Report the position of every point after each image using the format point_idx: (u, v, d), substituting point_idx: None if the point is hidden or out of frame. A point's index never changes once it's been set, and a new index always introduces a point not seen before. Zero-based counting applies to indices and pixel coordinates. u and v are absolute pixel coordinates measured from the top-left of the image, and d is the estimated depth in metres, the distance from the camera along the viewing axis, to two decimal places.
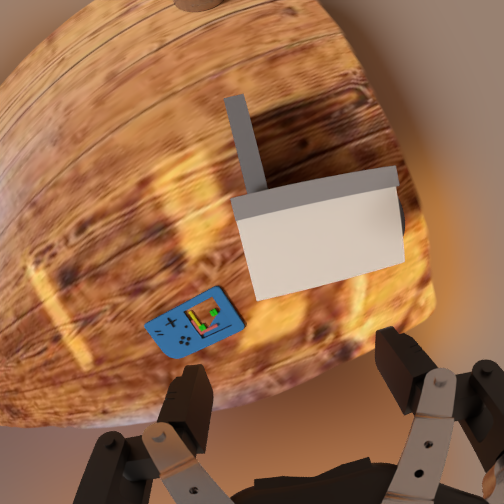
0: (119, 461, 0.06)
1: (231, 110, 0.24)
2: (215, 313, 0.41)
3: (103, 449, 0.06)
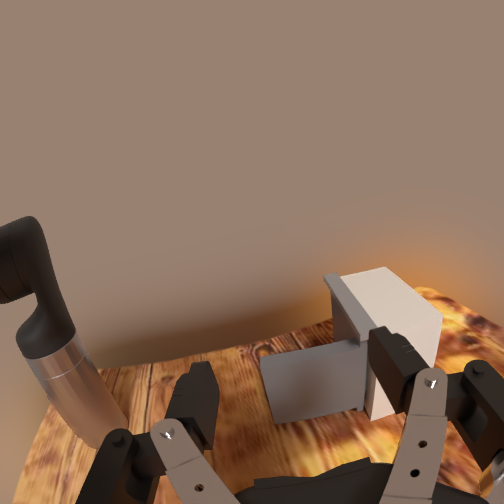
0: (127, 458, 0.06)
1: (274, 363, 0.27)
2: None
3: (111, 446, 0.06)
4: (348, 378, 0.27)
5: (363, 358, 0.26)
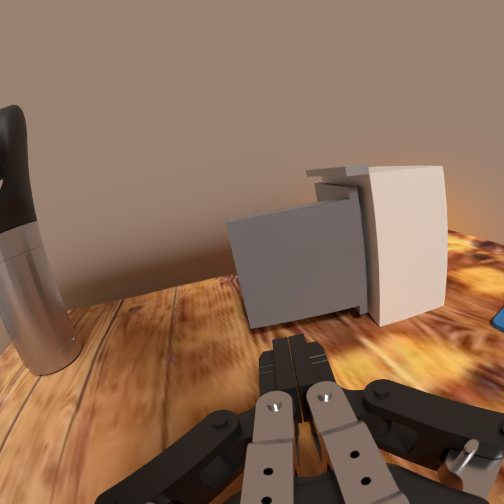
0: (219, 445, 0.07)
1: (244, 218, 0.23)
2: None
3: (209, 427, 0.07)
4: (341, 248, 0.23)
5: (356, 217, 0.22)
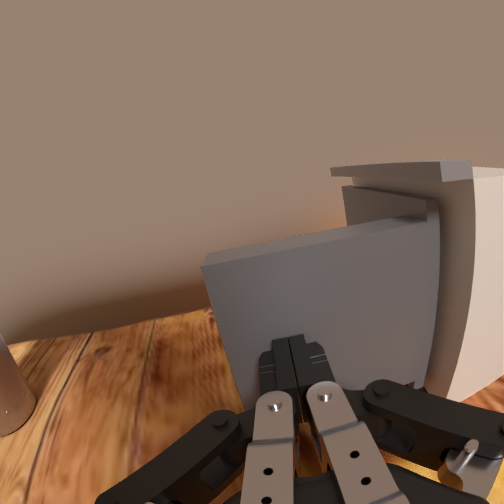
0: (219, 445, 0.07)
1: (236, 256, 0.12)
2: None
3: (209, 427, 0.07)
4: (406, 305, 0.12)
5: (434, 253, 0.11)
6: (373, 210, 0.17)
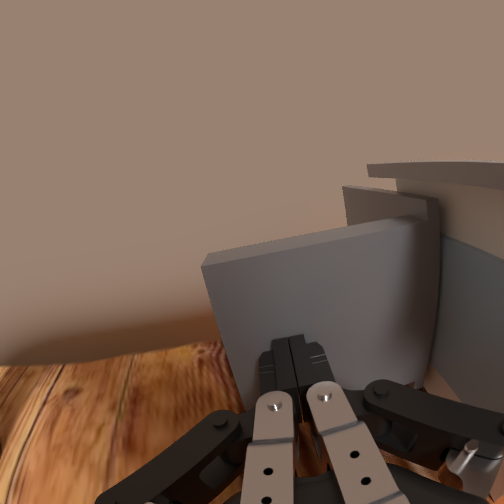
0: (219, 446, 0.07)
1: (236, 256, 0.12)
2: None
3: (209, 427, 0.07)
4: (406, 305, 0.12)
5: (434, 253, 0.11)
6: (373, 210, 0.17)
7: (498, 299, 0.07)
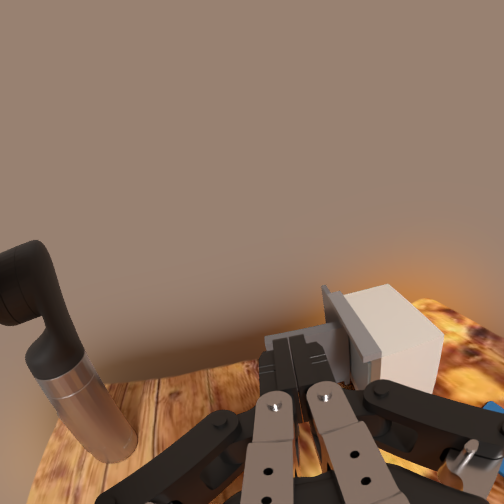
0: (219, 446, 0.07)
1: None
2: None
3: (209, 427, 0.07)
4: (334, 353, 0.35)
5: (345, 336, 0.35)
6: (331, 308, 0.41)
7: (360, 358, 0.31)
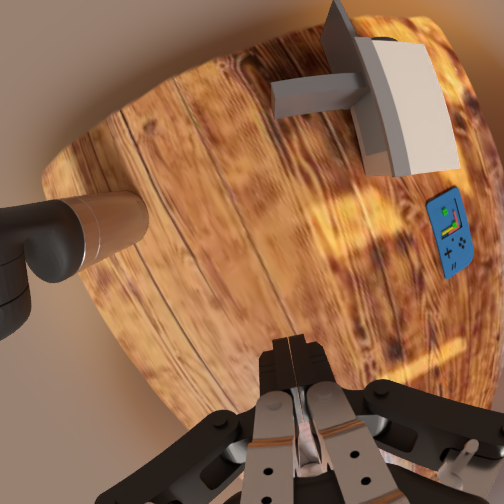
0: (219, 446, 0.07)
1: (288, 92, 0.25)
2: (445, 210, 0.38)
3: (209, 427, 0.07)
4: (346, 98, 0.28)
5: (365, 91, 0.26)
6: (348, 42, 0.23)
7: (377, 125, 0.28)
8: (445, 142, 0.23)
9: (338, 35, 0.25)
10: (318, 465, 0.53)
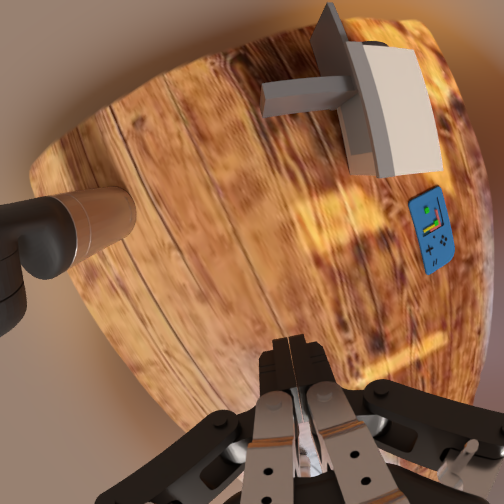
0: (219, 446, 0.07)
1: (278, 94, 0.26)
2: (427, 209, 0.41)
3: (209, 427, 0.07)
4: (334, 99, 0.30)
5: (353, 94, 0.27)
6: (339, 45, 0.24)
7: (363, 127, 0.29)
8: (429, 145, 0.25)
9: (329, 38, 0.26)
10: (304, 456, 0.56)
